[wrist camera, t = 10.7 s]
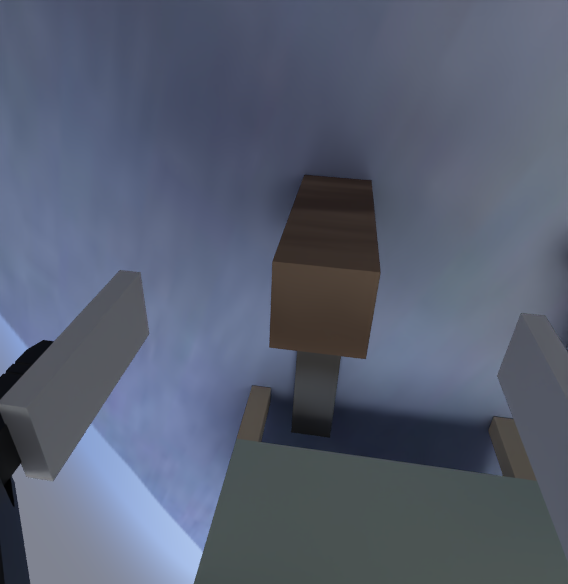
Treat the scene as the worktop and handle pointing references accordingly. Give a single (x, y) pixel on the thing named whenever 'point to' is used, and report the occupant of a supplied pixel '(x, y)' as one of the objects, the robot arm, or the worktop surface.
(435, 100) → the worktop surface
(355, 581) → the cabinet
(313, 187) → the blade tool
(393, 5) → the worktop surface
